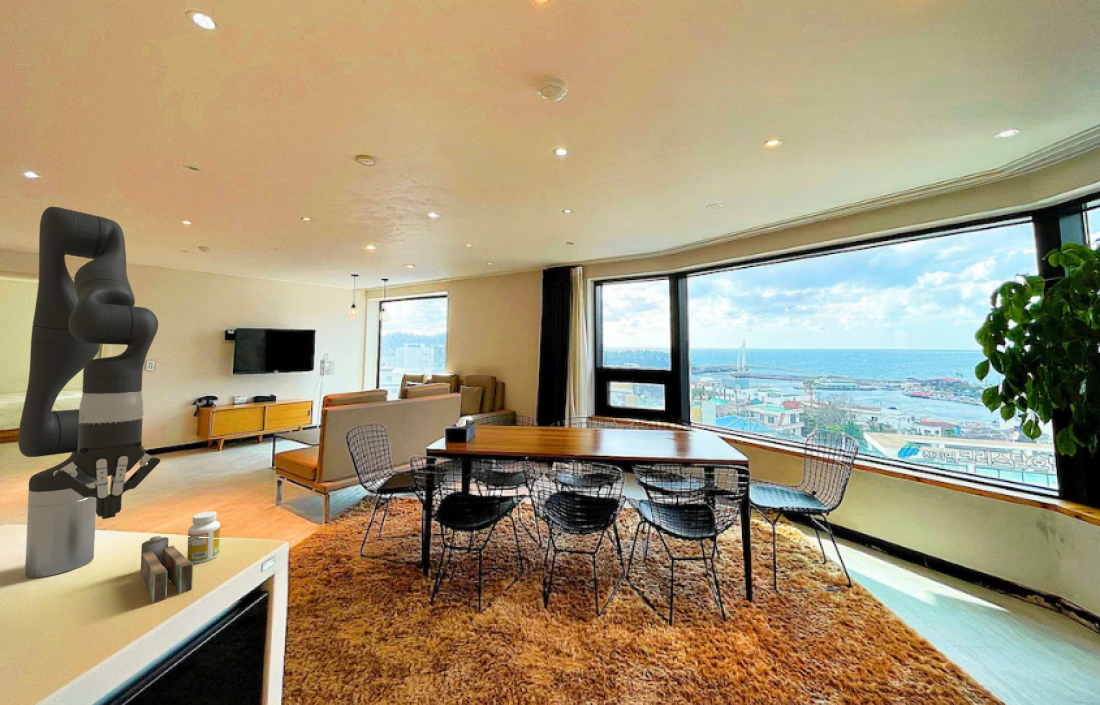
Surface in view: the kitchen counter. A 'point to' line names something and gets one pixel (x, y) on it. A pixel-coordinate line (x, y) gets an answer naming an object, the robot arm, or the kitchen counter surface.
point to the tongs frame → (171, 562)
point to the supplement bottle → (203, 547)
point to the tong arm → (154, 576)
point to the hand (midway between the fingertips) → (108, 516)
